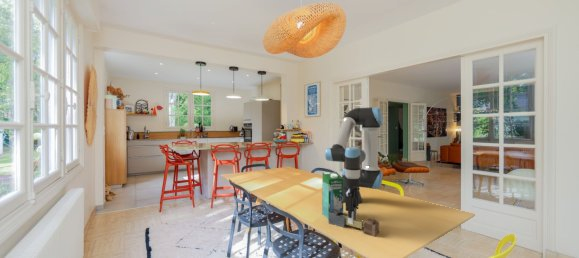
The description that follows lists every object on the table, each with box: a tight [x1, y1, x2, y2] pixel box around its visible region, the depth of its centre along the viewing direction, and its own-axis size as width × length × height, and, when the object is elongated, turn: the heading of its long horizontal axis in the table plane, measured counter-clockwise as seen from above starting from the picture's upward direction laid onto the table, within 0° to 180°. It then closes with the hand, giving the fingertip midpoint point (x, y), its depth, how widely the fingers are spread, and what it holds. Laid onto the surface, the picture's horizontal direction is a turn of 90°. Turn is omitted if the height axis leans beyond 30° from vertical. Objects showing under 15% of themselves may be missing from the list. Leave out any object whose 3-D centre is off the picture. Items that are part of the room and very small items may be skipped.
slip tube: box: [338, 206, 365, 229], centre depth 125 cm, size 3×17×9 cm, turn 52°
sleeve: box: [328, 209, 348, 228], centre depth 128 cm, size 6×9×6 cm
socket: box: [363, 217, 380, 237], centre depth 117 cm, size 6×5×6 cm
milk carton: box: [321, 171, 344, 221], centre depth 138 cm, size 9×9×25 cm
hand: (352, 222), depth 123 cm, fingers closed on slip tube, 3 cm apart
